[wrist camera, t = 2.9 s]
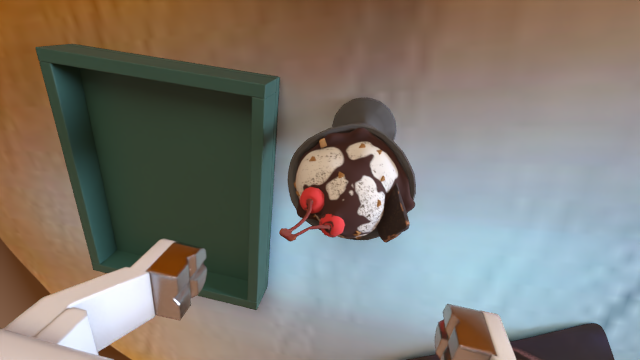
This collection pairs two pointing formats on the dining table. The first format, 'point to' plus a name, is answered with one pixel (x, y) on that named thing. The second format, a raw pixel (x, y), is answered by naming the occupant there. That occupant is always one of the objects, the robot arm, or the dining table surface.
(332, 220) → the sundae
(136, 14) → the dining table surface
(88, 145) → the serving tray
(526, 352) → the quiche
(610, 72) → the dining table surface
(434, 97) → the dining table surface
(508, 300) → the dining table surface
